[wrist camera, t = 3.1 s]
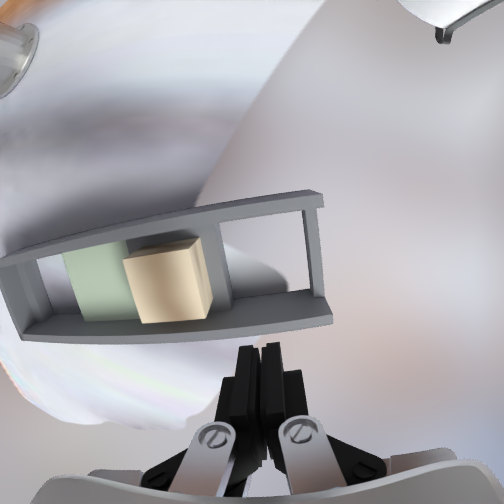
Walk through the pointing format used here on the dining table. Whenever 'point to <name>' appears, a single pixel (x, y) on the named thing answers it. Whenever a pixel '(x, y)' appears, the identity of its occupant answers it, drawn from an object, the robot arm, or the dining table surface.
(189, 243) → the beech block
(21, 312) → the trap box
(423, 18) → the coffee press
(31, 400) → the dining table surface
